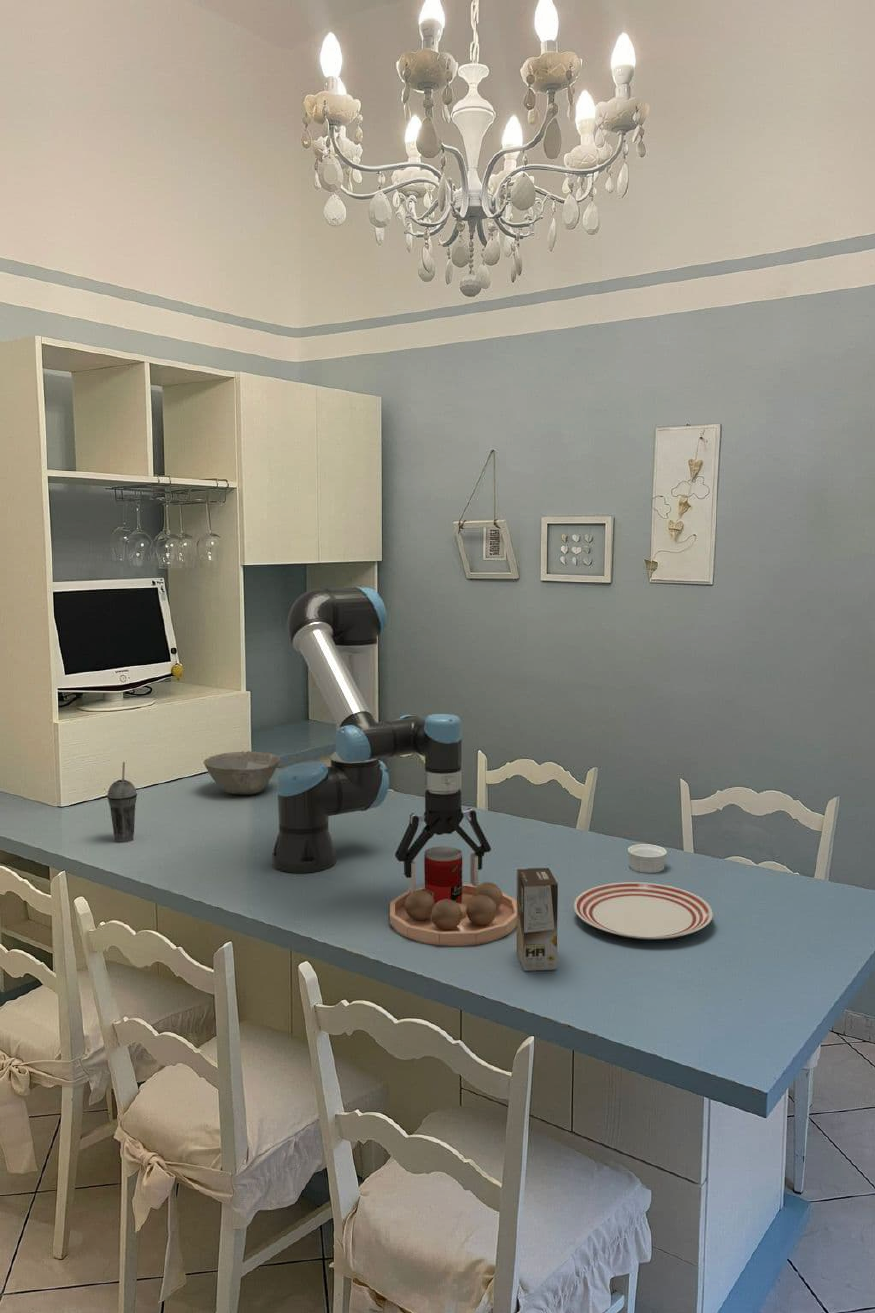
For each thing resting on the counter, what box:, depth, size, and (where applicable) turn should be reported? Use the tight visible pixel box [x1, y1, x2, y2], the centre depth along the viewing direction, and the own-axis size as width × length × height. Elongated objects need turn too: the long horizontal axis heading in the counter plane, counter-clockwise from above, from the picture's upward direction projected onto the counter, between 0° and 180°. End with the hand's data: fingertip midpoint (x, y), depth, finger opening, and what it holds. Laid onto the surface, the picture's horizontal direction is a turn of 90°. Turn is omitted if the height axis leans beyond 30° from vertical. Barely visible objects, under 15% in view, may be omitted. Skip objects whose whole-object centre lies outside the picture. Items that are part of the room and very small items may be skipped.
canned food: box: [423, 845, 463, 904], centre depth 208 cm, size 8×8×11 cm
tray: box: [389, 883, 517, 947], centre depth 202 cm, size 26×26×2 cm
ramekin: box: [627, 843, 668, 874], centre depth 232 cm, size 9×9×4 cm
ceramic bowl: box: [203, 750, 281, 796], centre depth 298 cm, size 22×23×10 cm
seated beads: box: [405, 881, 503, 931], centre depth 201 cm, size 18×18×6 cm
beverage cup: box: [106, 761, 138, 843], centre depth 253 cm, size 7×7×20 cm
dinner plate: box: [573, 881, 714, 940], centre depth 201 cm, size 27×27×3 cm
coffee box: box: [516, 867, 559, 972], centre depth 182 cm, size 9×6×16 cm
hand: (443, 888), depth 209 cm, fingers open, 13 cm apart
